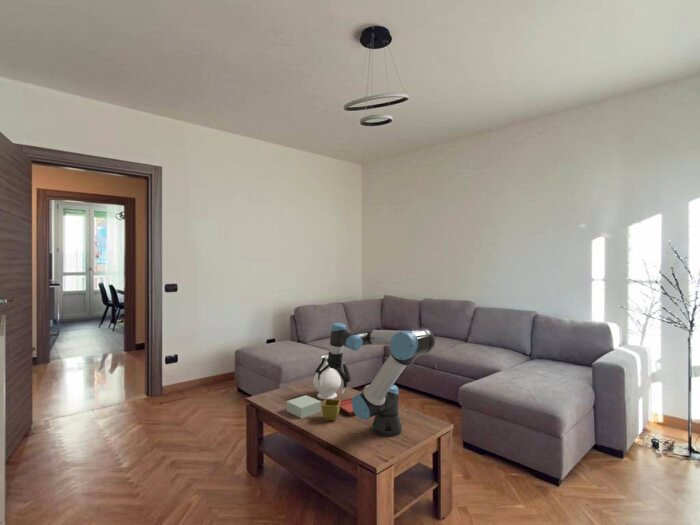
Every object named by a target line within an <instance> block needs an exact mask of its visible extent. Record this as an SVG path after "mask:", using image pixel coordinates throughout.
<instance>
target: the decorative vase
mask: <svg viewBox="0 0 700 525" xmlns="http://www.w3.org/2000/svg"><path fill="white" fill-rule="evenodd" d="M320 356H321V355H320ZM324 357H326V358H328V354H326V355H322V356H321V360H320V361H319V364H320V363H321V362H322V358H324ZM327 365H328V362H327V361H326V362H325V363H324V364H323V366H322V367H321V369H320V371H321V370H322V369H323V368H325V367H326V366H327ZM322 373H323V380H322V385H321V386H320V387H319V380H318V373H317V372H315V375H314V377H313V381H312V383H313V387H314V388H315V390H317V392H318V393H317V396H316V397H317V398H319V399H320V400H321V399H322V400H326V399H331V400H334V399H336V398H337V397H338V394H337V391H338V390H339V388H340V387H341V386H342V377H341V375H340V373H339V372H338V371H337V369H336V370H335V369H333V368H330V367H328V368H327V369H326V370H325V371H323V372H322Z"/></svg>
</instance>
